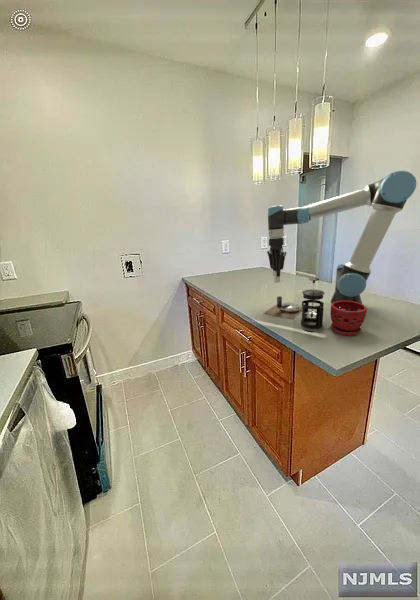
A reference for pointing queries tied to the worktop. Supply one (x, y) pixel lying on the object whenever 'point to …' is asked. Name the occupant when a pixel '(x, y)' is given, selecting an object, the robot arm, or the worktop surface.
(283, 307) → the silver dish with post
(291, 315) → the board
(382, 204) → the robot arm
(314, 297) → the french press
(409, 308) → the worktop surface
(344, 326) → the plant pot
